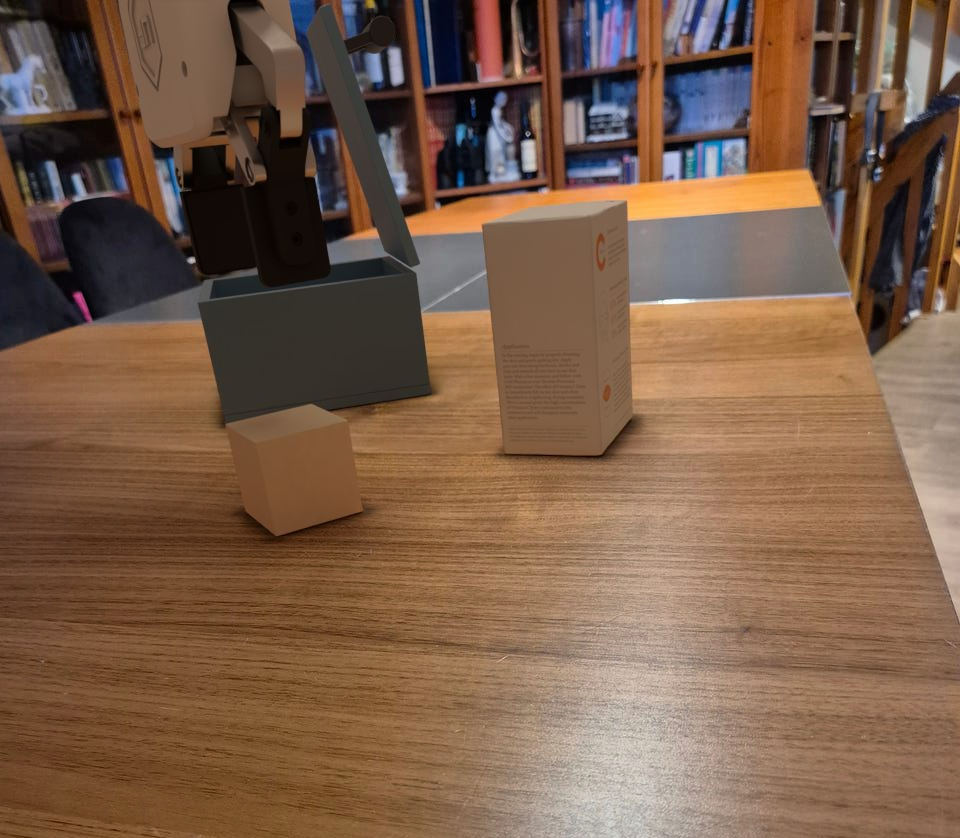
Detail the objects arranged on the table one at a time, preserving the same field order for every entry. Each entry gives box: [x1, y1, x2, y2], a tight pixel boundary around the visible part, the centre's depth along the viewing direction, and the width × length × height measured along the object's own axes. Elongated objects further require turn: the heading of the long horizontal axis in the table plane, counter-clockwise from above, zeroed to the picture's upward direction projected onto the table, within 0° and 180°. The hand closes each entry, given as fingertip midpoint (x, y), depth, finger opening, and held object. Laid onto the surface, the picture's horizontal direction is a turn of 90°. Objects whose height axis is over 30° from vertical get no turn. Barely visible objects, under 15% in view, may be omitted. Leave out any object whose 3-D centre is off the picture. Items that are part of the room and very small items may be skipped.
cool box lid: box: [305, 2, 421, 269], centre depth 69 cm, size 16×14×5 cm
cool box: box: [197, 255, 432, 425], centre depth 74 cm, size 16×14×9 cm
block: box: [225, 404, 364, 537], centre depth 50 cm, size 5×5×5 cm
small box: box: [481, 199, 634, 456], centre depth 55 cm, size 8×6×13 cm
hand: (260, 276), depth 45 cm, fingers open, 9 cm apart
